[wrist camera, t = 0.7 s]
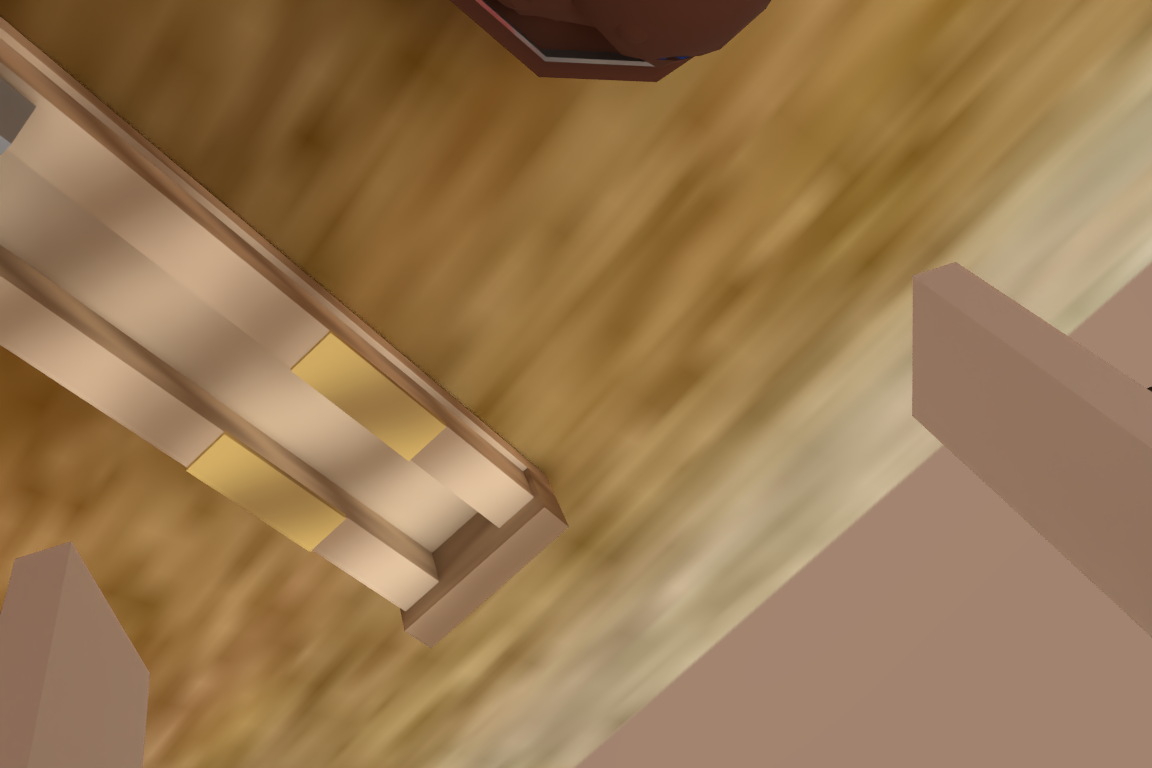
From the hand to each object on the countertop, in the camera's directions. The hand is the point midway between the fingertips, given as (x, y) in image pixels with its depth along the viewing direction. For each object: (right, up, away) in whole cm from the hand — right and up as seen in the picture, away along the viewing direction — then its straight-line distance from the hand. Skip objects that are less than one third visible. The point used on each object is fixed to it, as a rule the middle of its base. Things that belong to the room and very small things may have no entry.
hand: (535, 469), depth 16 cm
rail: (-13, +3, +23) cm, 27 cm away
